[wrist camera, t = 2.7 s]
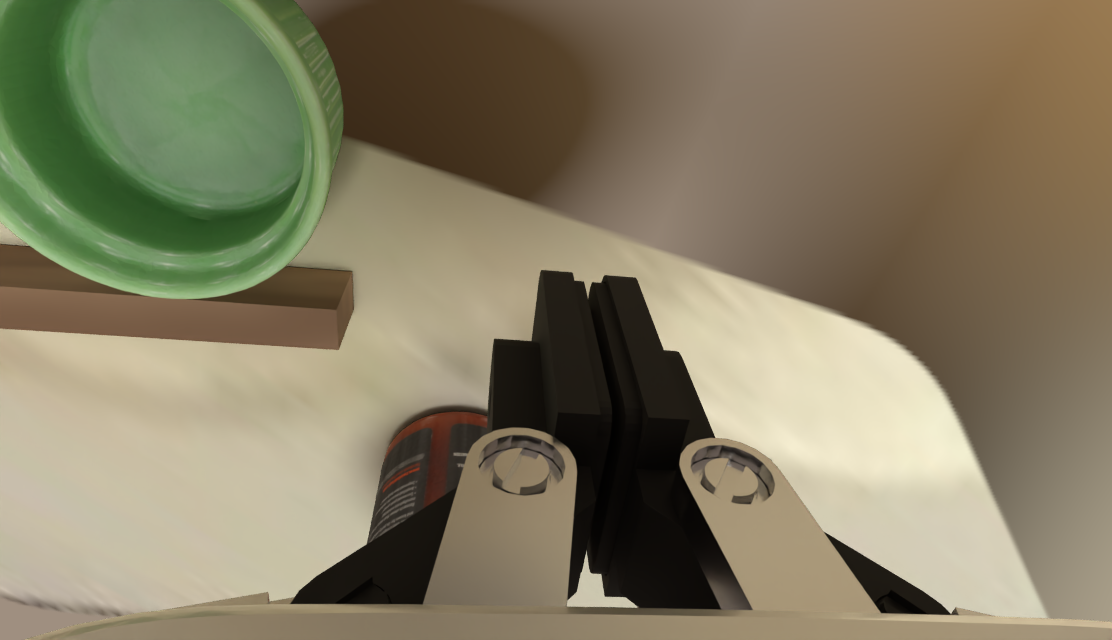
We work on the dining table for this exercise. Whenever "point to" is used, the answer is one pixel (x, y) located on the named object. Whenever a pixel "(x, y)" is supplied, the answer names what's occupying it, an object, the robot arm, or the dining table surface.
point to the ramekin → (166, 138)
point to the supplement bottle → (423, 466)
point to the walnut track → (176, 306)
